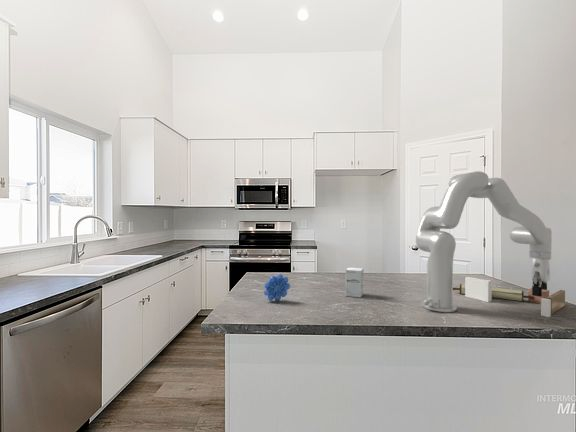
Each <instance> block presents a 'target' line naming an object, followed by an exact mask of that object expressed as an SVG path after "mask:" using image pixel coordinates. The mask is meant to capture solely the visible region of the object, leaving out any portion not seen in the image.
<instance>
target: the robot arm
mask: <svg viewBox="0 0 576 432" xmlns="http://www.w3.org/2000/svg"><path fill="white" fill-rule="evenodd" d="M469 198H474V199H488V200H489V202H490V203H491V205H492V206H493V208H494V210H495V211H496V213H497V214H498V215H500V216H501V217H503V218H505V219H507V220H511V221H513V222H516V223H518V224H520V225H521V226H516V227H514V228H512V229H511V230H510V232H509V238H510V240H511V241H512V242H514V243H516V244H522V245H523V244H524V245H529V251H528V252H529V253H528V254H529V259H531V270H530V271H531V277H530V278H531V280H532V284H531V285H532V286H531V288H532V295H533V296H540V297H541V296H542V289H543V290H548V282H549V281H550V280H551V271H550V268H551V267H550V261H551V260H552V239H553V238H552V237H553V236H552V229H551V228H549V227H546V225H545V223H544V222H543V220H542V219H541V218H540V217H539V216H538V215H537V214H536V213H533V212H532V211H530V210H529V209H528V208H526V207H524V206H523V205H521V204H520V202H519V201H518V199H517V198H516V197H515V195H514V194H513V192H512V190H511V188H510V187H509V185H508V184H507V182H506V181H505V180H504V179H503V178H501V177H491V178H490V177H489V175H488V174H487V173H485V172H484V171H480V170H479V171H472V172H466V173H461V174H455V175H453V176H452V177H451V178H450V179H449V181H448V188H447V189H446V190H445V193H444V195H443V198H442V200H441V203H440V205H438V206H432V207H429V208H428V209H426V210H425V212H424V213H423V215H422V218H421V220H420V224H419V227H418V228H417V229H418V230H417V232H416V236H415V243H416V247H417V248H418V249H419V250H421V251H423V252H426V253H430V254H429V256H428V259H427V263H426V297H425V300H424V299H423V300H421V301H420V304H421V306H422V307H423V308H425V309H426V310H430V311H434V312H437V313H453V312H456V311H458V307H457V306H456V305H455V304H454V303H453V300H454V299H453V298H454V297H453V295H454V294H453V291H454V290H453V287H454V281H453V278H454V277H453V272H454V271H453V269H454V256H455V250H456V244H457V243H456V239H455V236H453V234H451V233H450V232H447V231H444V230H451V229H455V228H457V226H458V225H459V223H460V220H461V218H462V214H463V211H464V208H465V206H466V202H467V201H468V199H469ZM442 229H443V230H442Z"/></svg>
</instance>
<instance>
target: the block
mask: <svg viewBox="0 0 576 432" xmlns="http://www.w3.org/2000/svg"><path fill="white" fill-rule="evenodd" d="M528 296H533V295H532V287H531V288H528ZM548 296H550V289H547V290H543V289H542V296H541V297H540V296H533V297H534V299H529V298H527V300H528V302H530V303H536V304H540V305H541V299H542V298H545V299H546V298H547V297H548Z"/></svg>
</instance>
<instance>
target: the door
mask: <svg viewBox="0 0 576 432" xmlns="http://www.w3.org/2000/svg"><path fill="white" fill-rule="evenodd" d="M546 299H551V315H553V314H554V313H556V312H557V311H558V310H560V309H561V308H563V307H564V306H566V290H564V289H560V290H558V291H555V292H553V294H551V295H550V294H549V296H548V297H547V298H546Z"/></svg>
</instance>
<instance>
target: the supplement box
mask: <svg viewBox="0 0 576 432" xmlns="http://www.w3.org/2000/svg"><path fill="white" fill-rule="evenodd" d="M344 295H345V297H354V298H358V299H361V298H362V296H363V295H364V268H363V267H361V268H360V267H347V268H346V269H345V294H344Z"/></svg>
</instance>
